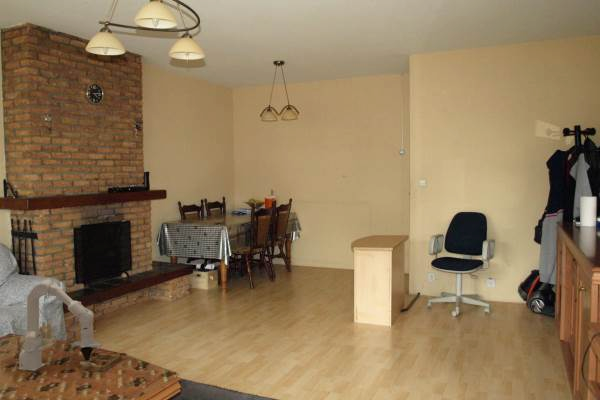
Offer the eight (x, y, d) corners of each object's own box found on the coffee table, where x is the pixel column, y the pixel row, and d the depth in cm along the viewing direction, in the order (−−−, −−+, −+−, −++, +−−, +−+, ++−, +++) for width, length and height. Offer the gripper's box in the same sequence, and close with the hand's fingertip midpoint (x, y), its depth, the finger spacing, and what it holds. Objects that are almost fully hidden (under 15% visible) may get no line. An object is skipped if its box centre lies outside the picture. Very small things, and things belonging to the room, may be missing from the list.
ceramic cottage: (60, 340, 272) (57, 315, 270) (44, 352, 256) (41, 325, 254) (33, 342, 272) (30, 316, 271) (16, 354, 256) (12, 327, 254)
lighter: (80, 365, 237) (80, 371, 230) (79, 361, 237) (80, 367, 230) (95, 362, 241) (96, 368, 234) (95, 359, 241) (96, 365, 234)
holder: (79, 369, 232) (78, 364, 232) (98, 357, 247) (98, 353, 247) (103, 372, 229) (103, 367, 229) (122, 360, 244) (121, 355, 244)
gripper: (69, 336, 237) (69, 362, 237) (94, 338, 234) (95, 365, 234) (78, 331, 243) (78, 357, 244) (103, 333, 241) (103, 359, 241)
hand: (87, 361), depth 240 cm, fingers closed, pressing on lighter
